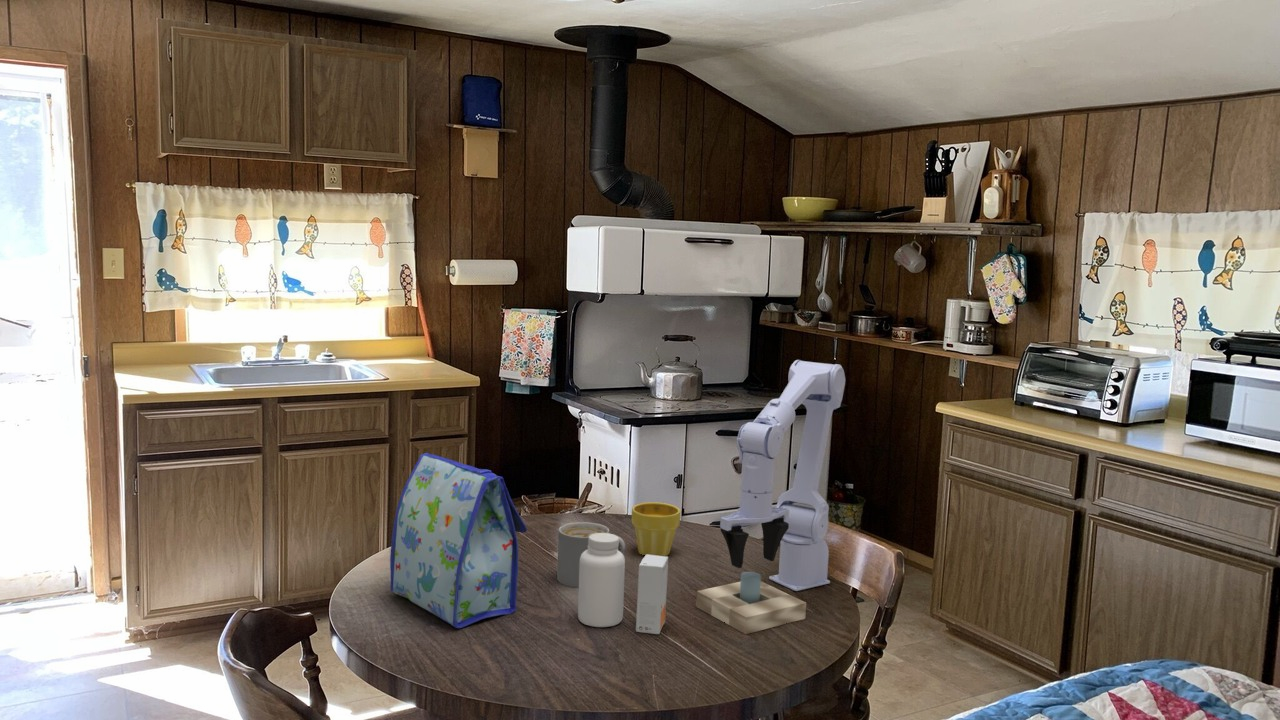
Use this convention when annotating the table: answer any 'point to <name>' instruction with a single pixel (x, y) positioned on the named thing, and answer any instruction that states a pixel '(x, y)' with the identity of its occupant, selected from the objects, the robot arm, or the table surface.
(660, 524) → the plant pot
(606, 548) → the pill bottle
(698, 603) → the socket block
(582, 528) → the coffee mug
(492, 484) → the lunch bag
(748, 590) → the peg
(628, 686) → the table surface
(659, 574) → the skincare box
